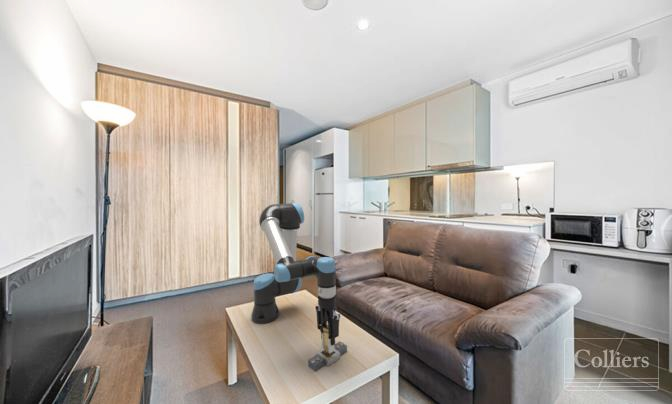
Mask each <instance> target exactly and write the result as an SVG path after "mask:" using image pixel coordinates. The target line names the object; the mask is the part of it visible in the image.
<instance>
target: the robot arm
mask: <svg viewBox="0 0 672 404" xmlns="http://www.w3.org/2000/svg"><path fill="white" fill-rule="evenodd" d="M304 221H305V214H304V210H303V207H302V206H301V205H300V204H299V203H292V202H290V203H277V204H276V203H275V204H270V205H268V206H266V207H265V208H264V209H263V210H262V212H261V213H260V216H259V221H258V223H259V226H260V229H261V231H263V232H264V235H265V237H266V239H267V241H268V245H269V247H270V250H271V252H272V255H273V258H274V261H275V263H276V264H275V265H274V267H273V272H272V273H271V272H270V273H263V274H260V275H258V276H257V277H256V278H254V280H253V287H252V288H253V301H254V302H253V308H252V311H251V321H252V322H253V323H257V324H267V323H271V322H274V321H275V320H277V319H278V318H279V316H280V309H279V307H278V305H277V302H276V297H281V296H285V295H288V294H289V295H290V294H294V293H296V292H298V291H300V289H301V288H302V283H303V282H302V279H303V278H308V277H315V278H317V279H316V280H317V304H318V305H316V306H315V312H316V323H317V324H316V326H317V330H319V332H320V338H321V349H324V331H323V326H325V325H328V329H329V336H330V337H328V352H329V353H331V352H333V351H335V349H334V345H335V344H336V338H338V337H339V335H340V334H339V333H340V318H341V314H340V313H337V312H336V309H335V307H336V305H337V286H336V279H337V278H336V270H337V269H336V268H337V267H336V261H335V259H334V258H333V257H330V256H323V257H318V256H313V255H311V256H307V258H305V259H301V260H297V243H298V242H297V241H298V240H297V239H298V230H300V228H301V225H302V224H303V223H304Z"/></svg>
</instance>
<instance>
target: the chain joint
mask: <svg viewBox="0 0 672 404" xmlns="http://www.w3.org/2000/svg"><path fill="white" fill-rule="evenodd" d="M334 349H335V351H333V352H332V355H331V356H330V357H328V358H327V357H326V356H325V348H324V349H323V348H321V349H320V350H318V351H316V355H314V356H313V357H311V358H309V359H307V365H308V367H309V368H310V369H311V370H313V372H316V371H318V370H320V369H321V368H323V367H324V366H327V367H329V366H330V365H332V364H333V363H335V362H336V361H338V360H340V359H341V355H344V353H346V352H347V351H348V345H347V344H345V343H344V342H341V341H338V342H337V343H336V342H335V345H334Z"/></svg>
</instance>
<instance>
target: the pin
mask: <svg viewBox="0 0 672 404" xmlns="http://www.w3.org/2000/svg"><path fill="white" fill-rule="evenodd" d="M323 331H324V348H325V356H326V357H327V358H328V357H330V356H331V355H332V352H331V353H329V352H328V337H330V336H329V329H328V324H327V325H325V326H323Z"/></svg>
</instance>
